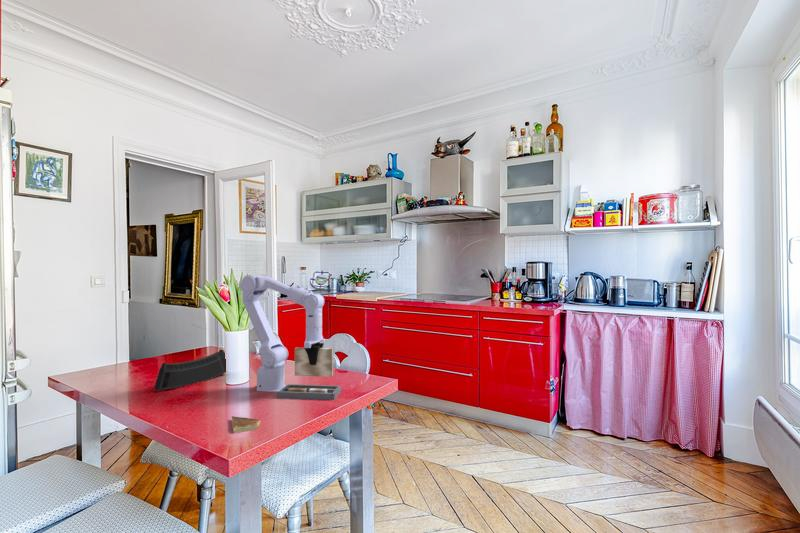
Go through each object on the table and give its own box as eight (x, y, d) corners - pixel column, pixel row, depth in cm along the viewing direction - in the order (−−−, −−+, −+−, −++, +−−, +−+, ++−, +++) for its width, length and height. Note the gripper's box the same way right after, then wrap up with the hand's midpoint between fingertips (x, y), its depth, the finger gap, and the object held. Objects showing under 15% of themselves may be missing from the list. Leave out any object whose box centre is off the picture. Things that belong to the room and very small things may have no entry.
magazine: (151, 370, 137) (223, 334, 162) (146, 369, 138) (218, 334, 163) (165, 412, 141) (233, 370, 166) (160, 410, 142) (229, 369, 167)
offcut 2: (308, 397, 133) (308, 390, 133) (310, 395, 135) (310, 388, 135) (325, 397, 132) (325, 390, 132) (327, 395, 134) (327, 388, 134)
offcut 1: (288, 396, 133) (288, 389, 133) (290, 394, 135) (290, 387, 135) (304, 397, 133) (304, 389, 133) (306, 395, 135) (306, 388, 135)
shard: (231, 421, 114) (231, 415, 114) (258, 417, 118) (258, 411, 118) (232, 435, 105) (232, 428, 105) (261, 430, 108) (261, 424, 108)
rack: (277, 399, 132) (277, 392, 132) (288, 390, 142) (288, 383, 142) (333, 401, 130) (333, 394, 130) (341, 392, 140) (341, 385, 140)
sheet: (294, 375, 140) (294, 348, 140) (296, 374, 141) (296, 347, 141) (332, 376, 138) (331, 349, 138) (333, 375, 140) (333, 348, 140)
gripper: (318, 330, 132) (318, 369, 132) (330, 324, 147) (330, 359, 146) (298, 329, 133) (298, 368, 133) (312, 323, 147) (312, 359, 147)
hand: (314, 364), depth 140 cm, fingers closed on sheet, 1 cm apart
